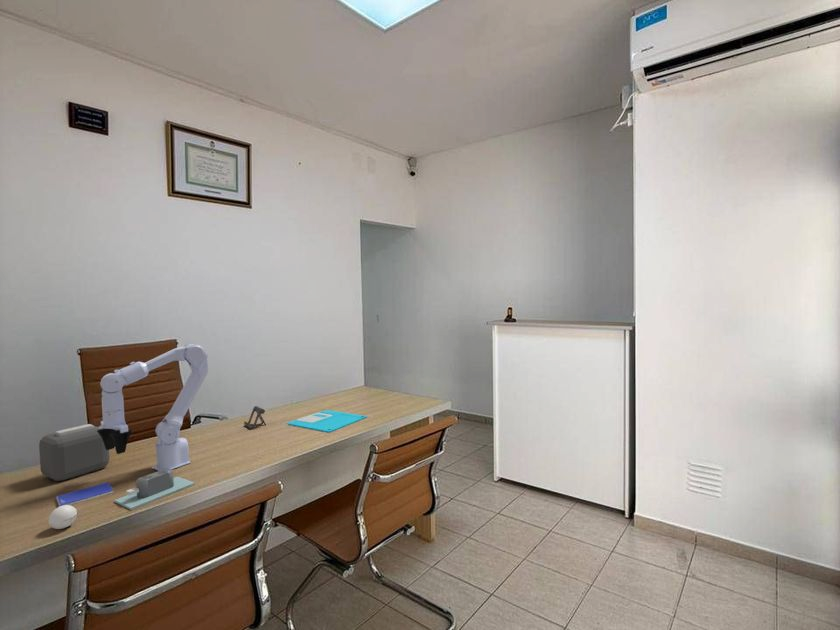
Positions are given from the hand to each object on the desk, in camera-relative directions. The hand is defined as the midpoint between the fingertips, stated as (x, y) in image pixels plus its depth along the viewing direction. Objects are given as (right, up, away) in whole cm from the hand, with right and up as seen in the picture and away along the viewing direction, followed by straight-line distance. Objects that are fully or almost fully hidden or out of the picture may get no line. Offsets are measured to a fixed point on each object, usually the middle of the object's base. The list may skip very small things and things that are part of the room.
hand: (115, 451), depth 135 cm
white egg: (+9, -10, -28) cm, 31 cm away
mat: (+20, -9, -11) cm, 25 cm away
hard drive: (-1, -11, -11) cm, 15 cm away
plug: (+20, -9, -12) cm, 25 cm away
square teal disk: (+56, -6, +61) cm, 83 cm away
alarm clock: (-18, -10, +7) cm, 22 cm away
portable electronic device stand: (+24, -7, +56) cm, 61 cm away
